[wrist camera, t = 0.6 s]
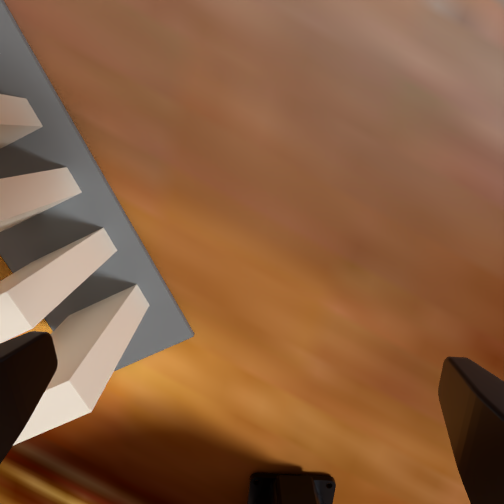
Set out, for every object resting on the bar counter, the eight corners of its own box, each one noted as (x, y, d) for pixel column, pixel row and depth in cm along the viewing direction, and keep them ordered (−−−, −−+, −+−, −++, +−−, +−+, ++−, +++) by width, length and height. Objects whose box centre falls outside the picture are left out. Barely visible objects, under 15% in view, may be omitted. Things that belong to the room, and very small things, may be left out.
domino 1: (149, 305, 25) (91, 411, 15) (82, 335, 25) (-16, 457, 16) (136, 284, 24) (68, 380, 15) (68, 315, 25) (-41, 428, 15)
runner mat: (194, 333, 26) (193, 336, 25) (90, 378, 27) (88, 382, 26) (-28, -54, 19) (-33, -58, 19) (-156, 21, 20) (-164, 19, 20)
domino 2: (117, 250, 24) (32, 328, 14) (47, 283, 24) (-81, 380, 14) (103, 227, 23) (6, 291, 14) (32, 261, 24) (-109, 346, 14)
